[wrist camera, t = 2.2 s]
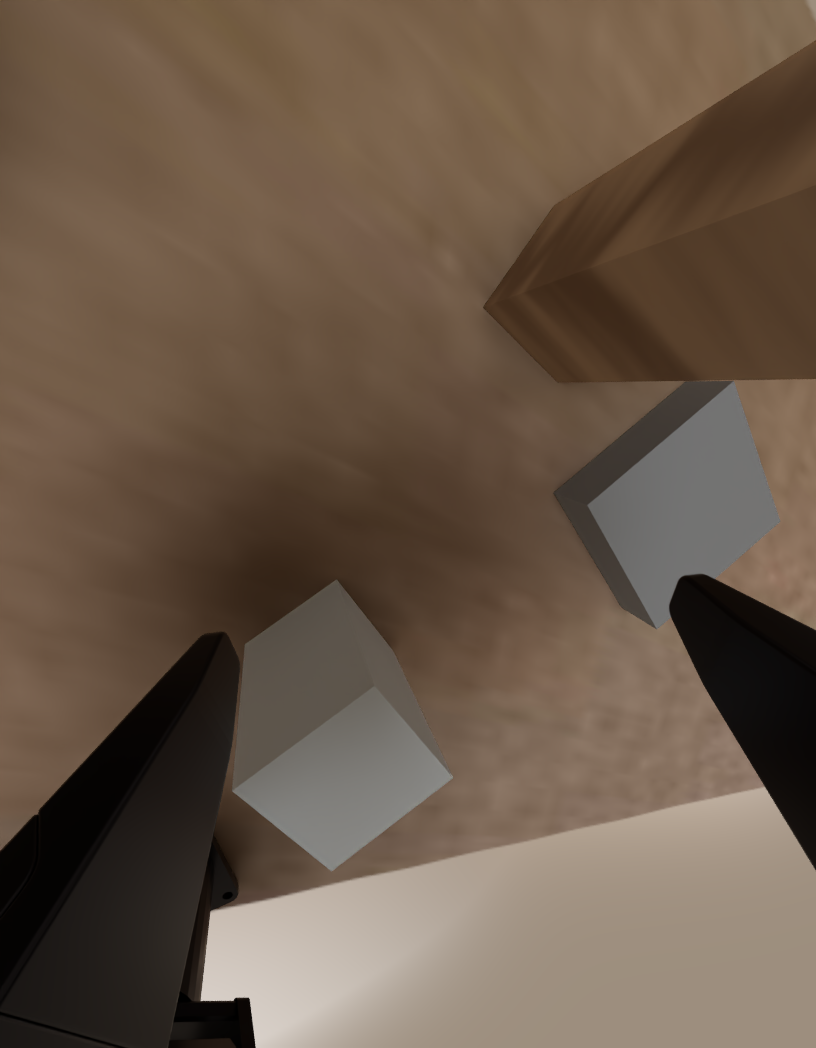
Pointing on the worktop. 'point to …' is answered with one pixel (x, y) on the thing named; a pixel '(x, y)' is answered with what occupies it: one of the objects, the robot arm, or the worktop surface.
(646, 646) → the worktop surface
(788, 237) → the walnut post
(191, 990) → the robot arm
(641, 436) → the greyblue square slab
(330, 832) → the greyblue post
